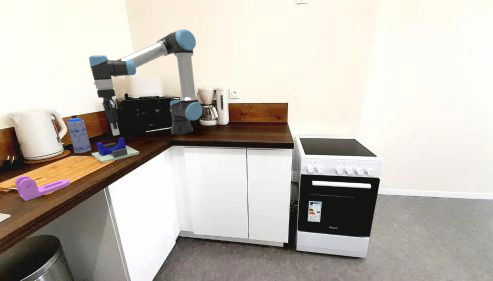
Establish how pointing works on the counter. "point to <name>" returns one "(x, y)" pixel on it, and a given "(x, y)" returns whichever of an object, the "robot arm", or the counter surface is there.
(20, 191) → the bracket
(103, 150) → the cable clip
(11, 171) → the counter surface
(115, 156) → the board
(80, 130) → the aerosol can
